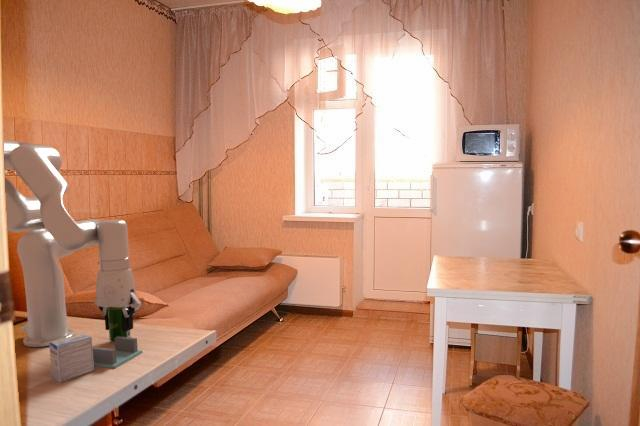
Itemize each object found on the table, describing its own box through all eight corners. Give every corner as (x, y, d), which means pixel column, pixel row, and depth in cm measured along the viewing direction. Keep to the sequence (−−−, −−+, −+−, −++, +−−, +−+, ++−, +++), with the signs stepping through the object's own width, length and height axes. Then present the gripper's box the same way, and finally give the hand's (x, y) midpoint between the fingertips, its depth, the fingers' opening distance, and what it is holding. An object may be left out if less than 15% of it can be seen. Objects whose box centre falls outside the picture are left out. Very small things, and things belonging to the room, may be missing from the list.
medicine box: (85, 367, 118) (83, 332, 117) (94, 371, 115) (92, 335, 115) (51, 378, 112) (48, 342, 111) (60, 383, 109) (57, 346, 108)
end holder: (88, 364, 119) (87, 349, 119) (117, 350, 129) (115, 335, 128) (115, 368, 117) (114, 352, 116) (142, 352, 126) (141, 337, 126)
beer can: (132, 336, 139) (129, 295, 138) (128, 343, 133) (125, 300, 132) (112, 338, 138) (109, 296, 137) (107, 345, 133) (104, 302, 131)
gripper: (79, 266, 133) (84, 331, 134) (131, 269, 127) (136, 336, 129) (99, 261, 140) (104, 322, 142) (150, 263, 134) (154, 327, 136)
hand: (119, 328), depth 135 cm, fingers closed on beer can, 5 cm apart
